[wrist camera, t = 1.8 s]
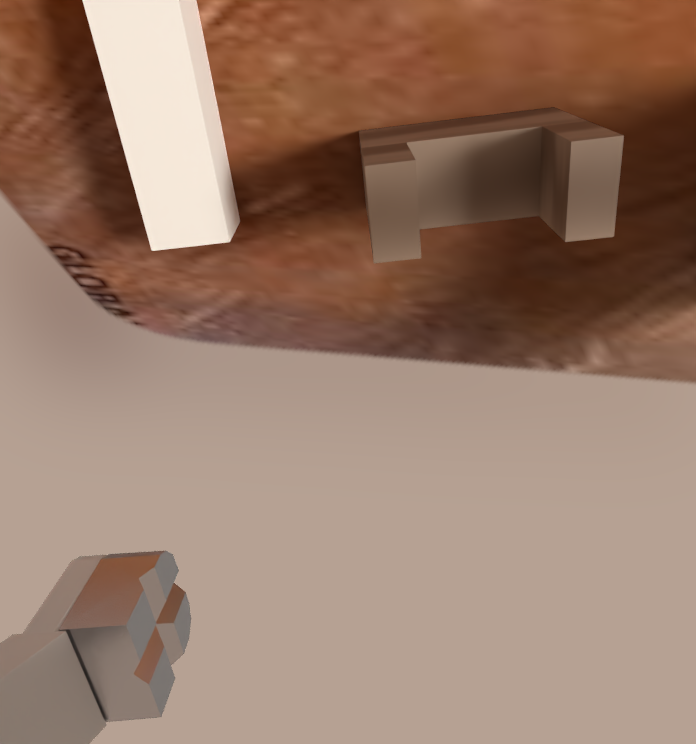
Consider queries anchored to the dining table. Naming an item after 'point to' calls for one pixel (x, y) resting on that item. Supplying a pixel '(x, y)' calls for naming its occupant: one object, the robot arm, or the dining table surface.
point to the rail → (166, 118)
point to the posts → (489, 176)
